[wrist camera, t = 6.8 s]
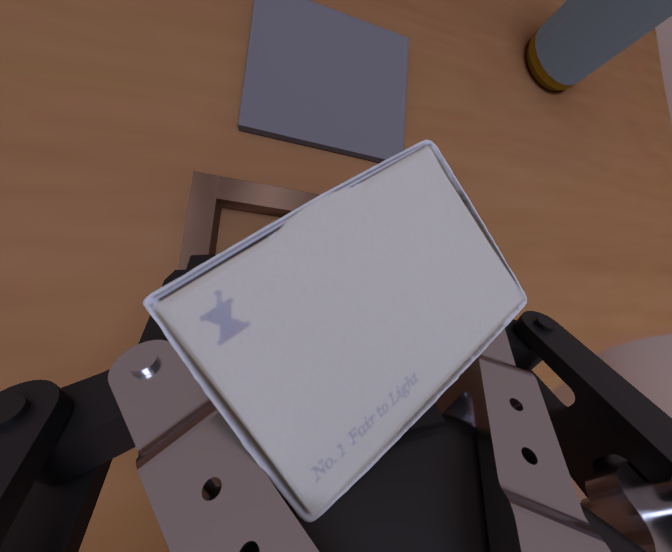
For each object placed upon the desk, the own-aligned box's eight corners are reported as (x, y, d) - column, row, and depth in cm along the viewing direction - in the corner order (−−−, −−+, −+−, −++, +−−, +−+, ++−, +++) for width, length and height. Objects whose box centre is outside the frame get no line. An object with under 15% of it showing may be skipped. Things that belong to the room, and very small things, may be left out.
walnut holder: (167, 411, 15) (155, 424, 14) (200, 183, 17) (193, 171, 15) (387, 405, 19) (398, 414, 17) (396, 217, 21) (407, 210, 19)
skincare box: (276, 360, 15) (298, 557, 4) (235, 301, 15) (113, 305, 3) (354, 302, 17) (543, 307, 5) (319, 249, 17) (435, 127, 5)
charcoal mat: (239, 130, 18) (238, 124, 17) (257, -10, 19) (257, -20, 19) (399, 167, 21) (402, 163, 20) (405, 44, 22) (408, 37, 22)
